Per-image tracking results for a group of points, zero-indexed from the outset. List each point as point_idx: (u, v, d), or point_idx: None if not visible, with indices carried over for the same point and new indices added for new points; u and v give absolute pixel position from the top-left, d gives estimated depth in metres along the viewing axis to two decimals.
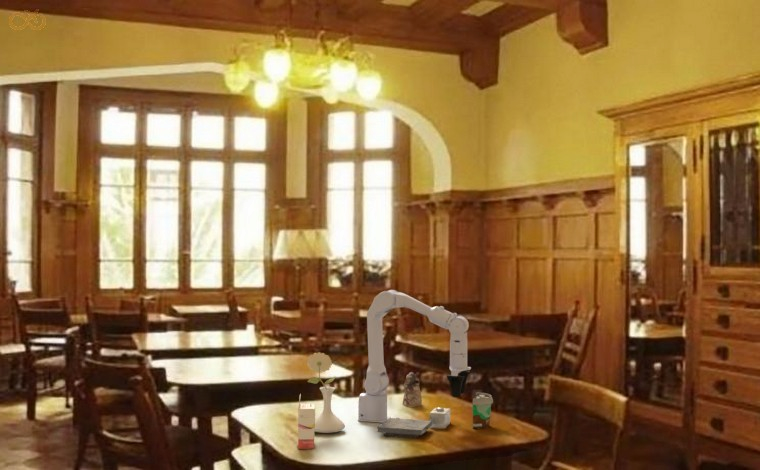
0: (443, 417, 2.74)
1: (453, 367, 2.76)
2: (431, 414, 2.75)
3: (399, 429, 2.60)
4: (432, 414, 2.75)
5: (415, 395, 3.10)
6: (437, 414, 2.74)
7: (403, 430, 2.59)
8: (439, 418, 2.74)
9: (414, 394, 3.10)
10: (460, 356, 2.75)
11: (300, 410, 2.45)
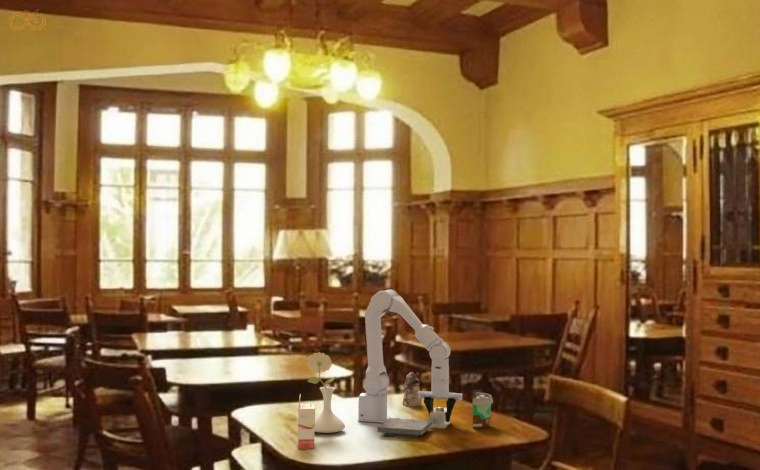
0: (443, 416, 2.74)
1: None
2: (431, 413, 2.75)
3: (399, 429, 2.60)
4: (432, 413, 2.75)
5: (415, 395, 3.10)
6: (437, 413, 2.74)
7: (403, 430, 2.59)
8: (439, 417, 2.74)
9: (414, 394, 3.10)
10: (431, 381, 2.78)
11: (300, 410, 2.45)
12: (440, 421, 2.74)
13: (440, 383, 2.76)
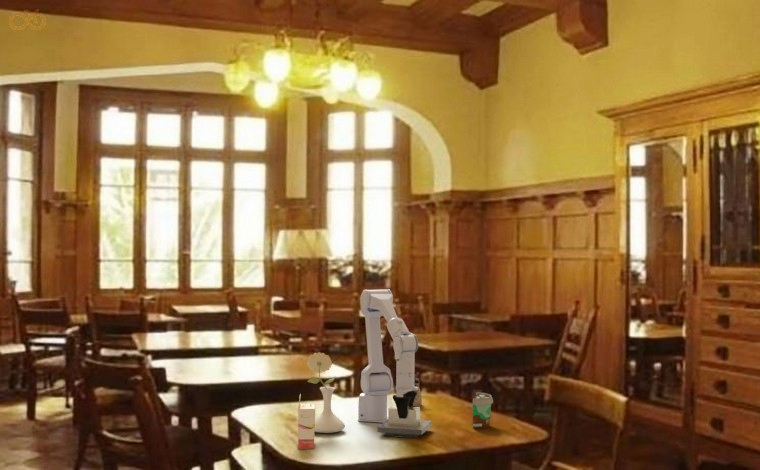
0: (419, 411, 2.67)
1: (399, 387, 2.64)
2: (416, 411, 2.63)
3: (399, 429, 2.60)
4: (417, 411, 2.64)
5: None
6: (418, 409, 2.65)
7: (403, 430, 2.59)
8: (418, 413, 2.66)
9: None
10: (406, 376, 2.64)
11: (300, 410, 2.45)
12: (418, 416, 2.66)
13: None
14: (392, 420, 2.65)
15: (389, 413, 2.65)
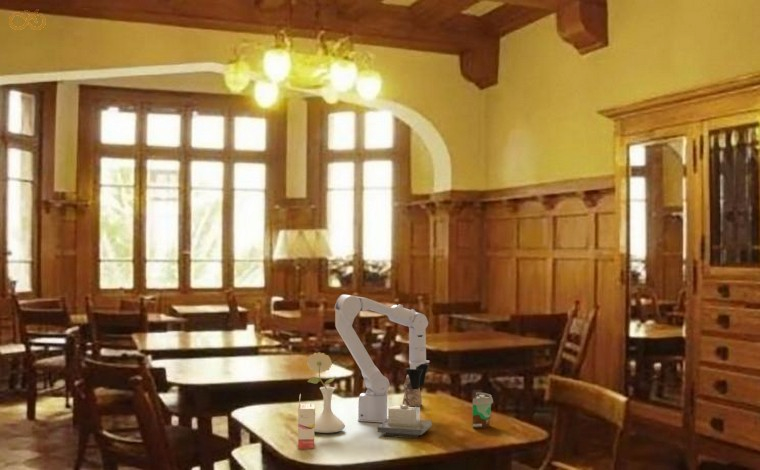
0: (419, 411, 2.67)
1: (412, 361, 2.88)
2: (416, 411, 2.63)
3: (399, 429, 2.60)
4: (417, 411, 2.64)
5: (415, 395, 3.10)
6: (418, 409, 2.65)
7: (403, 430, 2.59)
8: (418, 413, 2.66)
9: (414, 394, 3.10)
10: (418, 350, 2.87)
11: (300, 410, 2.45)
12: (418, 416, 2.66)
13: (425, 350, 2.90)
14: (392, 420, 2.65)
15: (389, 413, 2.65)
